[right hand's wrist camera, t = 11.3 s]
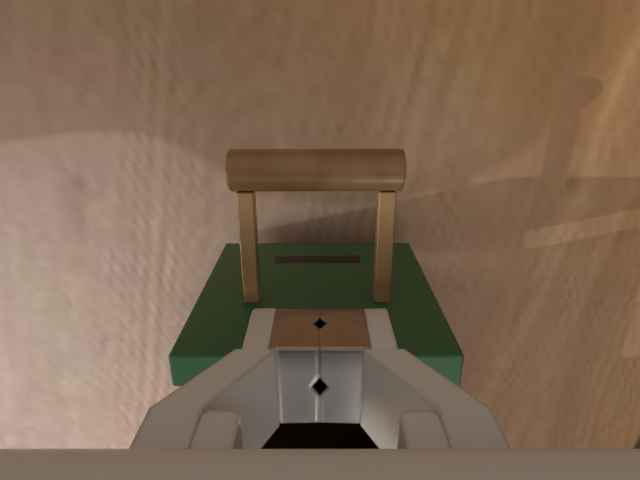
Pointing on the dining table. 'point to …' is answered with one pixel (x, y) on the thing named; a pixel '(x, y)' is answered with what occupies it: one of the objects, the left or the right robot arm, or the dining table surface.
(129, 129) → the dining table surface
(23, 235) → the dining table surface
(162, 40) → the dining table surface
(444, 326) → the drawer
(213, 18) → the dining table surface
